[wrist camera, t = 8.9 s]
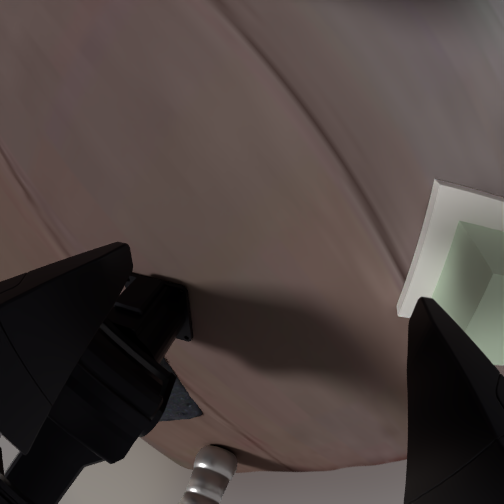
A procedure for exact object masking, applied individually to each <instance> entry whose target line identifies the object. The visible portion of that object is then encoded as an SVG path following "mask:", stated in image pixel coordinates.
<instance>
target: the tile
mask: <svg viewBox="0 0 504 504" xmlns="http://www.w3.org/2000/svg"><path fill="white" fill-rule="evenodd" d="M459 221H463V222H467V223H472V224H476V225H480V226H484V227H487V228H491V229H495V230H499V231H503V232H504V198H503V197H500V196H497V195H493V194H490V193H487V192H483V191H480V190H476V189H473V188H469V187H465V186H462V185H458V184H454V183H450V182H446V181H442V180H438V179H434V183H433V188H432V192H431V196H430V200H429V204H428V208H427V212H426V216H425V220H424V223H423V227H422V230H421V234H420V237H419V241H418V244H417V247H416V251H415V254H414V257H413V260H412V263H411V266H410V269H409V272H408V275H407V278H406V281H405V284H404V287H403V290H402V292H401V295H400V298H399V301H398V303H397V313H398V316H400V317H407V318H410V317H411V315H412V312H413V310H414V308H415V305H416V303H417V300H418V299H419V298H420V297H428V298H431V297H432V294H433V292H434V290H435V287H436V285H437V282H438V280H439V277H440V274H441V272H442V269H443V266H444V264H445V261H446V258H447V255H448V253H449V250H450V247H451V244H452V241H453V238H454V235H455V232H456V228H457V225H458V222H459Z"/></svg>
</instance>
